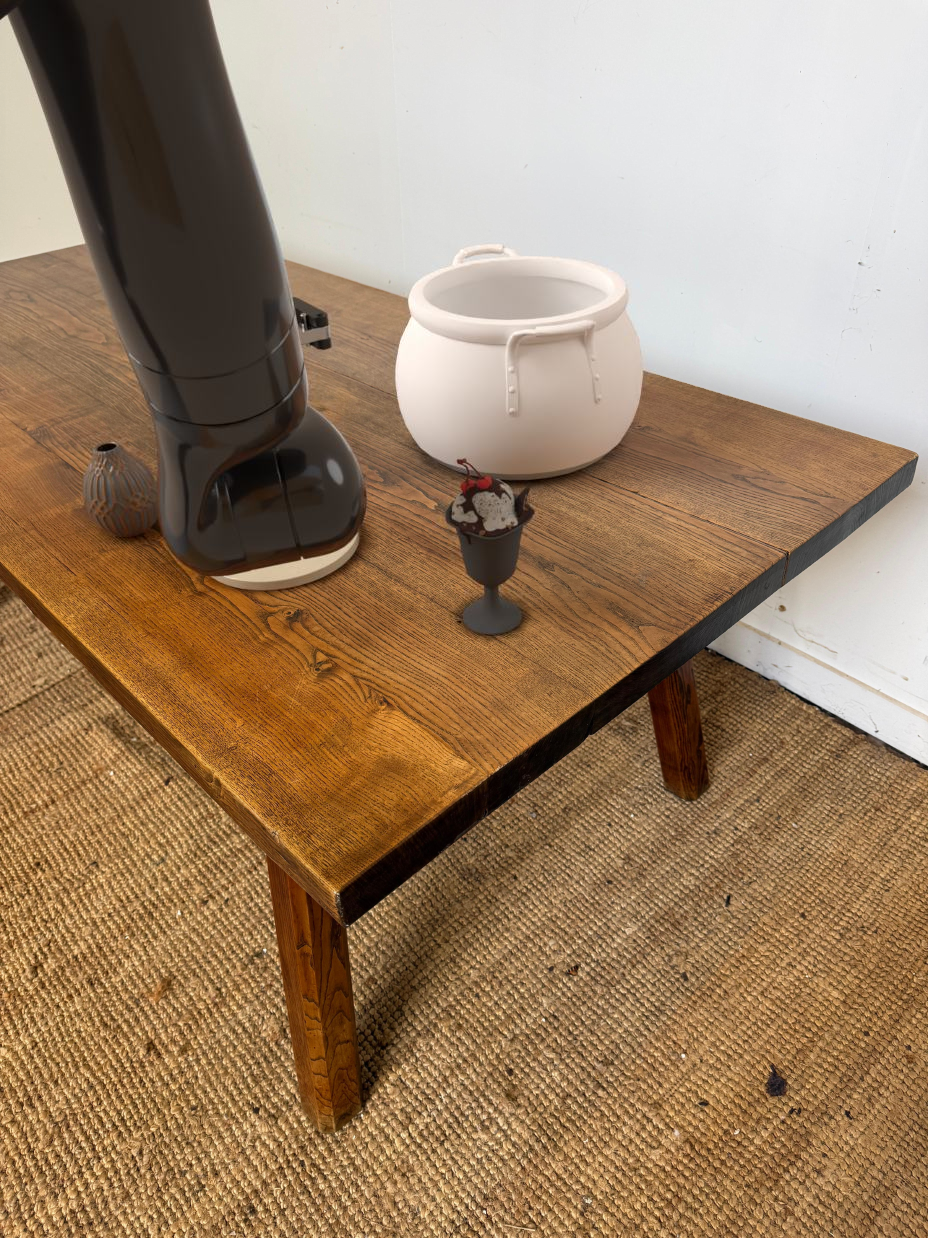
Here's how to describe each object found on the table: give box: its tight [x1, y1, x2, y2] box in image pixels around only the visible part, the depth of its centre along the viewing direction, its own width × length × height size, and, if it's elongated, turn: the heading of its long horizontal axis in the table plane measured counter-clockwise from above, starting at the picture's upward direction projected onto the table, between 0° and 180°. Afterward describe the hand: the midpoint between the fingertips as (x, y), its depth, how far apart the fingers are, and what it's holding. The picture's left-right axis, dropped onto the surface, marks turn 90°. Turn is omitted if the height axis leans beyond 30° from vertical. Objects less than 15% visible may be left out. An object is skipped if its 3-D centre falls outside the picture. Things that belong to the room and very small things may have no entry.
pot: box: [394, 243, 644, 481], centre depth 94 cm, size 29×26×17 cm
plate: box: [210, 530, 360, 591], centre depth 83 cm, size 15×15×1 cm
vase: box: [81, 440, 159, 538], centre depth 85 cm, size 7×7×9 cm
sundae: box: [444, 458, 536, 636], centre depth 69 cm, size 7×7×15 cm
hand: (234, 302), depth 72 cm, fingers closed on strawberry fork, 3 cm apart
